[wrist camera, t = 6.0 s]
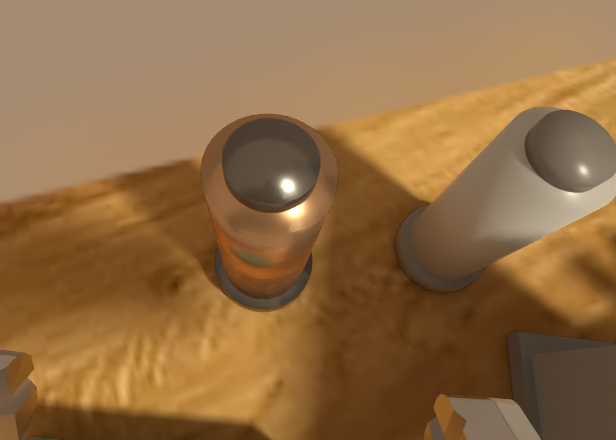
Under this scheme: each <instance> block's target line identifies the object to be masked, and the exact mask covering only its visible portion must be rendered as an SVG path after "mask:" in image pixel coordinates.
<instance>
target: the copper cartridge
mask: <svg viewBox="0 0 616 440" xmlns="http://www.w3.org/2000/svg"><path fill="white" fill-rule="evenodd" d="M201 181H202V186H203V190H204V194H205V198H206V201H207V205H208V209H209V213H210V216H211V220H212V224H213V228H214V231H215V235H216V239H217V243H218V247H217V251H216V256H215V268H216V273H217V277H218V280H219V283H220V285H221V287H222V289H223V291H224V292H225V294H226V295H227V296H228V297H229V298H230V299H231V300H232V301H233V302H234V303H236V304H237V305H239V306H241V307H243V308H245V309H248V310H251V311H256V312H270V311H275V310H278V309H281V308H283V307H285V306H287V305H289V304H290V303H291V302H293V301H294V300H295V299H296V298H297V297H298V296H299V295H300V294H301V292H302V291H303V289H304V288H305V286H306V284H307V282H308V279H309V277H310V274H311V270H312V253H311V251H312V248H313V246H314V244H315V241H316V239H317V237H318V234H319V232H320V230H321V227H322V225H323V222H324V220H325V218H326V215H327V213H328V211H329V208H330V206H331V204H332V201H333V199H334V196H335V194H336V190H337V187H338V166H337V162H336V158H335V156H334V154H333V151H332V149H331V148H330V146H329V145H328V143H327V142H326V141H325V139H324V138H323V137H322V136H321V135H320V134H319V133H318V132H317V131H315V130H314V129H313V128H311V127H310V126H308V125H307V124H305V123H303V122H301V121H299V120H297V119H294V118H291V117H288V116H283V115H277V114H259V115H252V116H248V117H244V118H241V119H238V120H236V121H234V122H232V123H230V124H229V125H227V126H226V127H224V128H223V129H222V130H221V131H220V132H218V133H217V134H216V135H215V136H214V138H213V139H212V140H211V142H210V143H209V144H208V146H207V148H206V150H205V152H204V155H203V158H202V163H201Z"/></svg>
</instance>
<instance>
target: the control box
mask: <svg viewBox="0 0 616 440" xmlns="http://www.w3.org/2000/svg"><path fill="white" fill-rule="evenodd" d="M506 336H507V345H508V355H509V364H510V373H511V383H512V392H513V401H514V402H516V403H517V404H518V405H519V406H520V408H521V410H522V411H523V413H524V414H525V416H526V417H527V419H528V420H529V422H530V423H531V425H532V426H533V428H534V430H535V431H536V433H537V434H538V436H539V437H540V439H541V440H616V343H615V342H606V341H598V340H589V339H580V338H572V337H563V336H554V335H546V334H537V333H528V332H520V331H518V332H513V333H508V334H506Z"/></svg>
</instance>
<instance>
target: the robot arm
mask: <svg viewBox="0 0 616 440" xmlns="http://www.w3.org/2000/svg"><path fill="white" fill-rule="evenodd" d="M33 370H34V367H33V362H32V357H31V355H29V354H26V353H22V352H14V351H6V350H0V440H19V439H20V437H21V436H22V435H23V433H24V432H25V430H26V429H27V427H28V426H29V424H30V422H31V419H32V417H33V415H34V412H35V410H36V405H37V398H38V396H37V388H36V386H35V385H34V384H33V383H32V382H31V381H30V380H29V379H28V378H27V377H28V376H29V374H30V373H31V372H32V371H33ZM433 408H434V410H435V413H436V415H437V416H436V417H435V418H434V419H432V420H431V421H430V422H428V423H427V427H426V430H425V433H424V440H541V439H540V437H539V436H538V434H537V433H536V431H535V430H534V428H533V426H532V425H531V423H530V422H529V420H528V419H527V417H526V416H525V414H524V413H523V411H522V410H521V408H520V406H519V405H518V404H517V403H516V402H514V401H513V400H512V399H500V398H485V397H475V396H464V395H453V394H440V395H439V396H438V397H437V399H436V401H435V404H434V407H433Z"/></svg>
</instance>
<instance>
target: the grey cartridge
mask: <svg viewBox="0 0 616 440" xmlns="http://www.w3.org/2000/svg"><path fill="white" fill-rule="evenodd" d="M615 196H616V145H615V143H614V141H613V139H612V137H611V136H610V135H609V133H608V132H607V131H606V130H605V129H604V128H603V127H602V126H601V125H600V124H598V123H597V122H596V121H594V120H593V119H591V118H590V117H588V116H586V115H584V114H581V113H578V112H575V111H570V110H562V109H558V108H553V107H536V108H531V109H528V110H526V111H523V112H522V113H520V114H519V115H518V116H516V117H515V118H514V119H513V120H512V121H511V122H510V123H509V124H508V125H507V127H506V128H505V129H504V130H503V131H502V132H501V133H500V134H499V135H498V136H497V137H496V138H495V139H494V140H493V141H492V142H491V143H490V144H489V145H488V146H487V147H486V148H485V149H484V150H483V151H482V152H481V153H480V154H479V155H478V156H477V157H476V158H475V159H474V160H473V161H472V162H471V163H470V164H469V165H468V166H467V167H466V168H465V169H464V171H463V172H462V173H461V174H460V175H459V176H458V177H457V178H456V179H455V180H454V181H453V182H452V183H451V184H450V185H449V186H448V187H447V188H446V189H445V190H444V191H443V192H442V193H441V194H440V195H439V196H438V197H437V198H436V199H435V200H434V201H433V202H432V203H431V204H427V205H424V206H421V207H419V208H417V209H416V210H414V211H413V212H412V213H411V214H410V215H409V216H408V217H407V218H406V219H405V220H404V221H403V222H402V224H401V225H400V227H399V228H398V230H397V233H396V236H395V244H394V245H395V254H396V257H397V260H398V263H399V265H400V267H401V268H402V270H403V271H404V273H405V274H406V275H407V276H408V277H409V278H410V279H411V280H412V281H413V282H414V283H416V284H417V285H419V286H420V287H422V288H424V289H426V290H430V291H433V292H439V293H446V292H452V291H455V290H458V289H460V288H462V287H465V286H467V285H469V284H470V283H472V282H474V281H475V280H476V279H477V278H478V277H479V276H480V275H481V273H482V271H483V270H484V267H486V266H488V265H489V264H491V263H493V262H495V261H497V260H499V259H501V258H503V257H505V256H507V255H509V254H511V253H513V252H515V251H517V250H519V249H521V248H523V247H525V246H527V245H529V244H531V243H533V242H535V241H537V240H539V239H541V238H542V237H544V236H546V235H548V234H550V233H552V232H554V231H556V230H558V229H560V228H562V227H564V226H566V225H568V224H570V223H572V222H574V221H576V220H578V219H580V218H582V217H584V216H586V215H588V214H590V213H592V212H594V211H596V210H597V209H599V208H601V207H603V206H605V205H607V204H608V203H609V202H610V201H612V200H613V198H614V197H615Z"/></svg>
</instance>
